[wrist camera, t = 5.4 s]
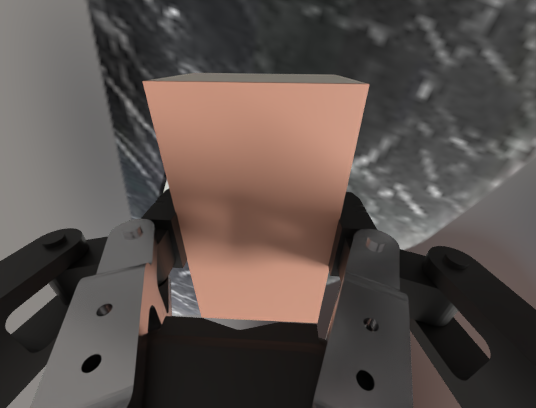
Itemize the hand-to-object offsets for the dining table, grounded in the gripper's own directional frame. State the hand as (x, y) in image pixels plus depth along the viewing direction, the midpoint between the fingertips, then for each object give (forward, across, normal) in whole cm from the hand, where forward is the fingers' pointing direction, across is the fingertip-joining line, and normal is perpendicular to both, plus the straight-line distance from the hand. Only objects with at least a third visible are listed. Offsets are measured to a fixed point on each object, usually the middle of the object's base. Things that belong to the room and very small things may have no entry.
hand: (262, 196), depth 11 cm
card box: (+1, 0, 0) cm, 1 cm away
